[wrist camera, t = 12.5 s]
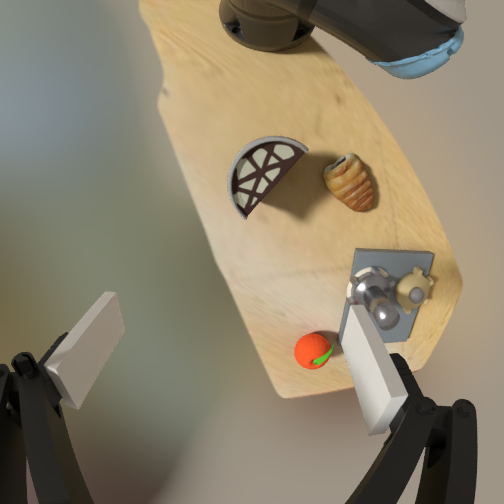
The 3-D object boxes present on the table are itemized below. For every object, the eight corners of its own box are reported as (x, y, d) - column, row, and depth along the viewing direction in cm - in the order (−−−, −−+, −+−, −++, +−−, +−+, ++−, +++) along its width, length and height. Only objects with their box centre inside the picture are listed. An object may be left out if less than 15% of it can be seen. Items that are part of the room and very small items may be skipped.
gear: (351, 265, 46) (371, 295, 36) (394, 266, 45) (419, 293, 36) (343, 311, 49) (358, 345, 39) (383, 309, 49) (403, 342, 39)
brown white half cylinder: (269, 121, 39) (271, 114, 30) (299, 147, 41) (311, 148, 31) (216, 181, 43) (204, 191, 34) (247, 206, 44) (243, 223, 35)
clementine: (320, 317, 52) (327, 340, 45) (337, 338, 53) (345, 362, 47) (285, 338, 54) (288, 363, 47) (304, 358, 55) (309, 382, 49)
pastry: (379, 195, 43) (389, 200, 39) (349, 219, 45) (356, 225, 41) (348, 148, 41) (356, 149, 37) (316, 173, 42) (321, 176, 39)
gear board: (350, 247, 46) (360, 259, 42) (432, 251, 46) (445, 261, 41) (332, 341, 54) (338, 357, 49) (406, 336, 53) (415, 350, 49)
